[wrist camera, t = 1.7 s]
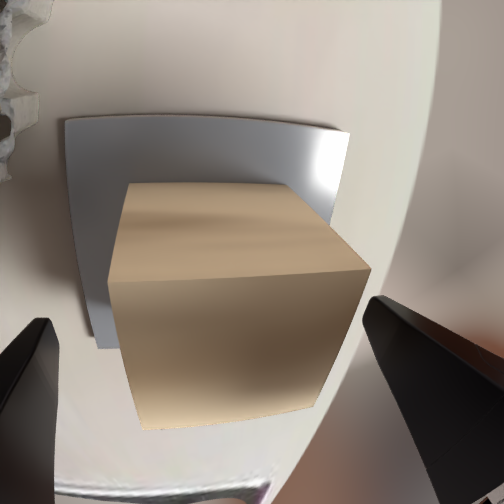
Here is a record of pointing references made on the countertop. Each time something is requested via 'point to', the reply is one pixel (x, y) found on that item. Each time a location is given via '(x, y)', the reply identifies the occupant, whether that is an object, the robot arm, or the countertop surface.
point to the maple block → (228, 301)
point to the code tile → (181, 176)
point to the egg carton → (3, 83)
